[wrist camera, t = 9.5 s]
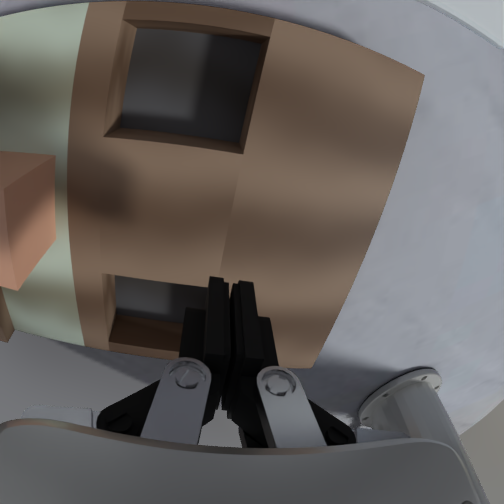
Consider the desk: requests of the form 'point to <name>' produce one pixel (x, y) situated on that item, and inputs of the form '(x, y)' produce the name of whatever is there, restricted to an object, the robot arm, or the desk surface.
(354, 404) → the desk surface
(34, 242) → the block
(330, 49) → the box
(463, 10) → the external hard drive
